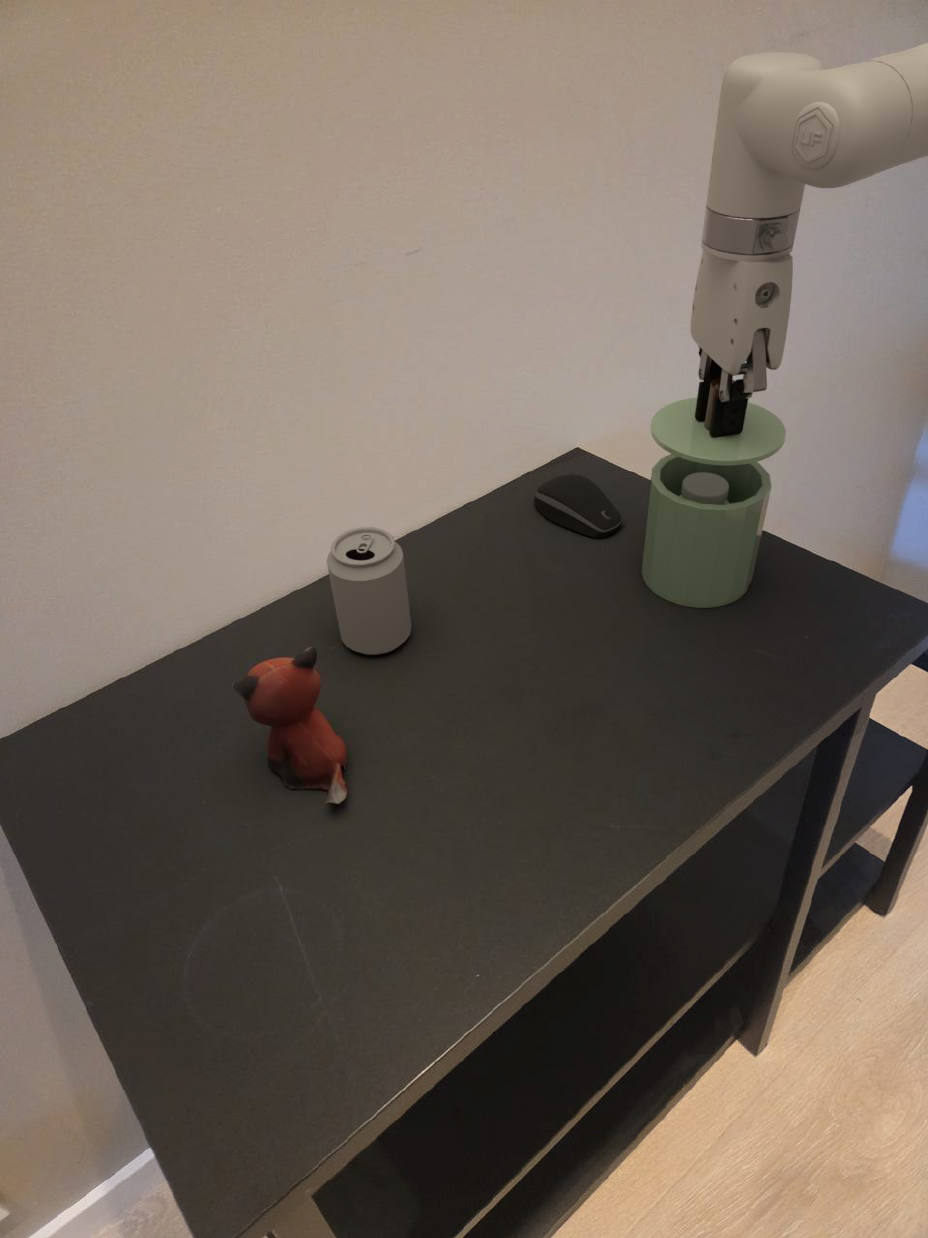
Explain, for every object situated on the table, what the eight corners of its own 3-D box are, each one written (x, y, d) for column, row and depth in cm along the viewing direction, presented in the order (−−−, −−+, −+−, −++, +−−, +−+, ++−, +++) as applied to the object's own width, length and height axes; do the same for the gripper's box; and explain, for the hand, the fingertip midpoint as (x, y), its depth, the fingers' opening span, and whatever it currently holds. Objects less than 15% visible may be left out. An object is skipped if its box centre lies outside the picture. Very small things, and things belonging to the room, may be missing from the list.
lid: (747, 399, 91) (756, 347, 88) (808, 459, 82) (821, 404, 78) (631, 416, 90) (635, 364, 86) (680, 480, 80) (687, 424, 76)
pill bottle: (657, 579, 95) (668, 493, 88) (671, 548, 100) (682, 463, 92) (714, 591, 93) (730, 504, 86) (725, 559, 98) (741, 473, 90)
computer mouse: (594, 546, 101) (596, 518, 99) (521, 506, 109) (521, 478, 106) (634, 522, 105) (636, 494, 102) (561, 484, 112) (561, 457, 109)
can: (331, 655, 89) (312, 562, 82) (355, 609, 95) (339, 517, 87) (400, 664, 88) (387, 570, 80) (420, 617, 93) (410, 524, 86)
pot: (722, 536, 102) (738, 441, 94) (769, 597, 93) (792, 498, 85) (626, 552, 100) (635, 457, 92) (665, 616, 91) (678, 517, 83)
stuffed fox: (312, 836, 72) (286, 741, 65) (244, 761, 79) (213, 666, 71) (384, 787, 76) (368, 690, 68) (313, 718, 83) (291, 623, 75)
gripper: (841, 254, 67) (794, 461, 79) (747, 198, 79) (718, 385, 91) (751, 265, 66) (716, 474, 78) (669, 207, 78) (650, 395, 90)
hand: (717, 424), depth 85 cm, fingers closed on lid, 2 cm apart
